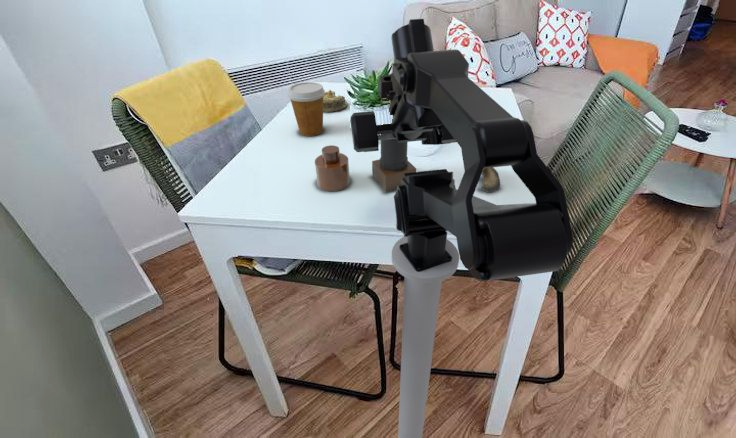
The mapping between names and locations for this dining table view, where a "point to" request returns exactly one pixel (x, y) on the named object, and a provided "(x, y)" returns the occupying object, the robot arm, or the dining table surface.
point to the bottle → (332, 169)
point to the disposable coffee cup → (308, 107)
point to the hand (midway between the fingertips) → (398, 144)
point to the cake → (333, 102)
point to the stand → (389, 175)
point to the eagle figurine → (490, 180)
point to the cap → (393, 155)
